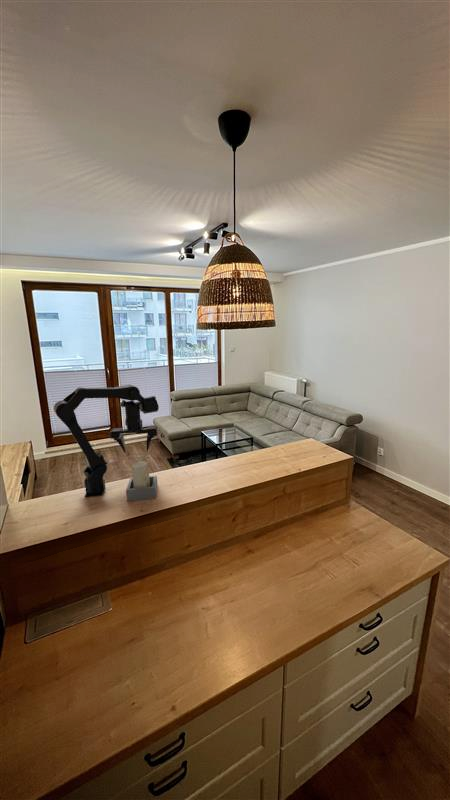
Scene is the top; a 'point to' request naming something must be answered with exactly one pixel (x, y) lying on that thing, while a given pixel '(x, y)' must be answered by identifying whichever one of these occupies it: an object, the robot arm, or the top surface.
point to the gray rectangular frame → (142, 490)
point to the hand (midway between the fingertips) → (136, 451)
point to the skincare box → (141, 474)
